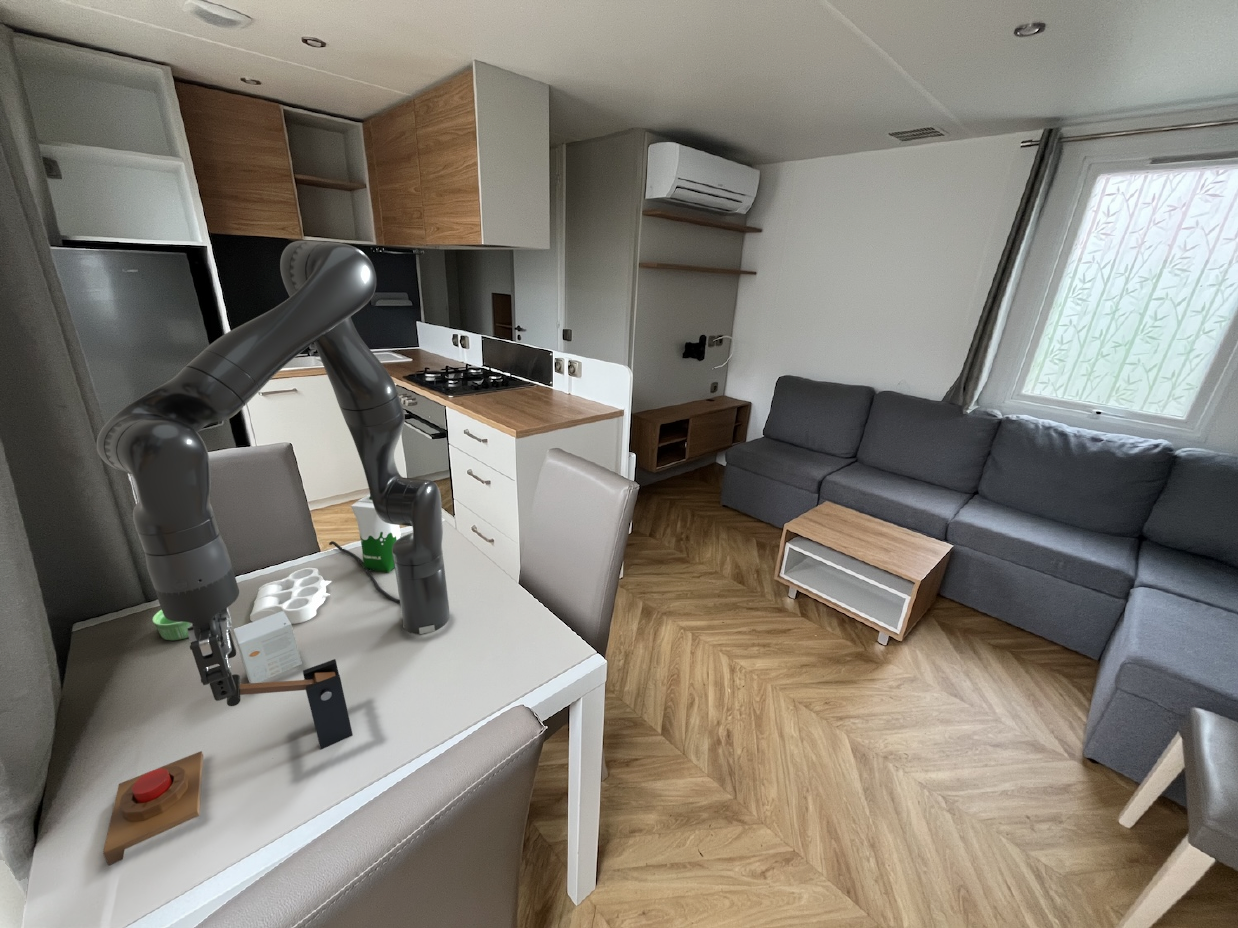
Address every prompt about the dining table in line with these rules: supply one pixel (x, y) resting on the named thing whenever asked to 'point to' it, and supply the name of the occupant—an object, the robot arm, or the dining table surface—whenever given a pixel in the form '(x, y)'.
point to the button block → (154, 808)
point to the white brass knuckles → (292, 596)
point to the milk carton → (375, 536)
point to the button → (151, 785)
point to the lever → (273, 686)
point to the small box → (267, 647)
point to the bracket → (328, 705)
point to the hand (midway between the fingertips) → (226, 675)
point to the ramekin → (170, 627)
